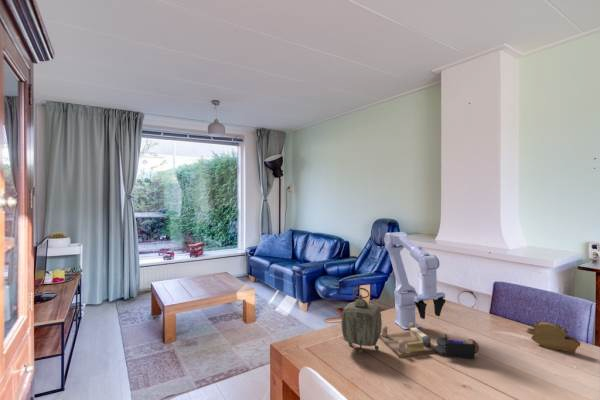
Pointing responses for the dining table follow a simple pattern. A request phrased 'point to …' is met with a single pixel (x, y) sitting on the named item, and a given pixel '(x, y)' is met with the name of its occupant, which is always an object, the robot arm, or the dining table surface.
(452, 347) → the character figurine
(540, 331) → the wooden carving
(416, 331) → the leg bar
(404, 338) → the stool seat
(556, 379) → the dining table surface
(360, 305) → the green bag
